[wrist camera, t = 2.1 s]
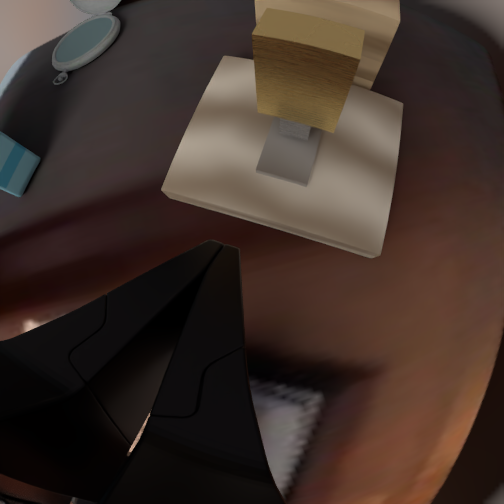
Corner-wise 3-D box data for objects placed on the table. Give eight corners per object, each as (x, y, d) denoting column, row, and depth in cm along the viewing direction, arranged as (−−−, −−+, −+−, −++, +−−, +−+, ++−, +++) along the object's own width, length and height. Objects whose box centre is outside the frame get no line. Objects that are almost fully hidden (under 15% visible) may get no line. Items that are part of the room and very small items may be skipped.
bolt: (328, 147, 19) (360, 59, 11) (258, 128, 20) (251, 34, 11) (344, 78, 20) (369, -7, 11) (284, 62, 21) (287, -26, 12)
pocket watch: (120, -54, 16) (41, 23, 14) (144, 4, 27) (91, 85, 25) (59, -32, 17) (-12, 47, 15) (88, 15, 28) (36, 92, 26)
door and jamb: (371, 258, 21) (440, 232, 11) (169, 198, 23) (109, 138, 13) (398, 75, 23) (433, 7, 14) (245, 35, 25) (236, -41, 15)
